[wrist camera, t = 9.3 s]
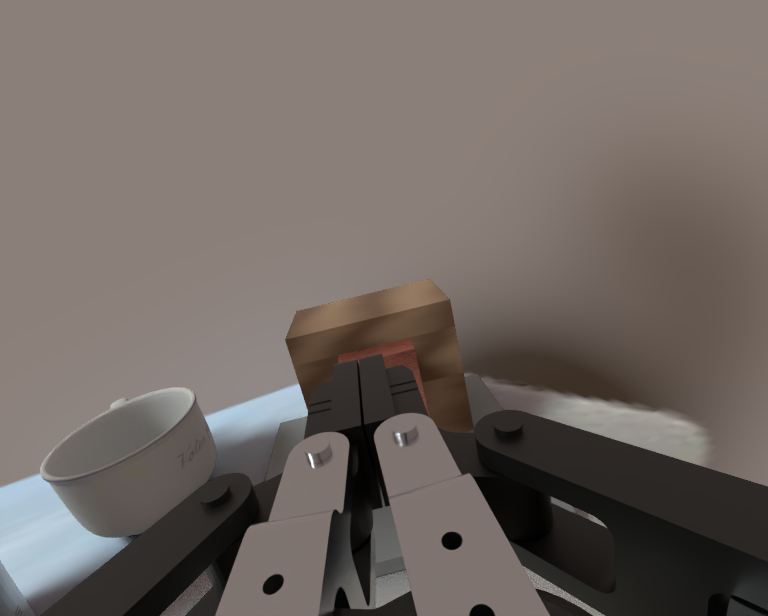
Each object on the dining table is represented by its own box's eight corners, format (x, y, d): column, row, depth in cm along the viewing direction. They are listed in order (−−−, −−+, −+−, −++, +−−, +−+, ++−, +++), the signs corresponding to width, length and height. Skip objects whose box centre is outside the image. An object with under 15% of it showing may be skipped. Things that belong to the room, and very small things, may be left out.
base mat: (236, 613, 23) (231, 600, 23) (283, 431, 40) (280, 423, 40) (577, 524, 23) (575, 510, 23) (478, 382, 41) (477, 373, 40)
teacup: (234, 511, 31) (197, 422, 29) (70, 594, 27) (11, 498, 25) (219, 431, 43) (192, 364, 41) (105, 479, 39) (68, 408, 37)
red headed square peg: (356, 433, 27) (338, 367, 26) (354, 375, 36) (339, 323, 34) (429, 415, 27) (414, 348, 26) (409, 361, 36) (397, 309, 34)
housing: (329, 477, 32) (285, 339, 29) (332, 427, 39) (296, 311, 35) (476, 440, 32) (449, 299, 29) (453, 397, 39) (430, 278, 36)
